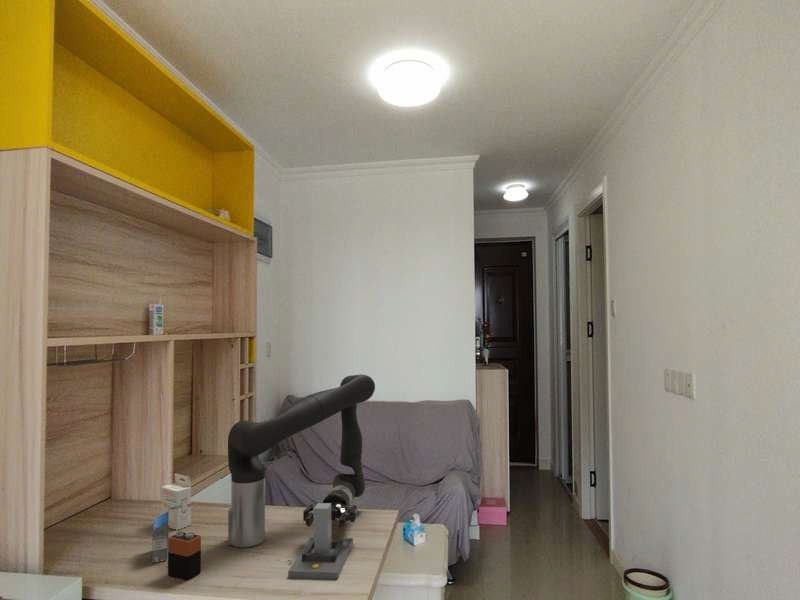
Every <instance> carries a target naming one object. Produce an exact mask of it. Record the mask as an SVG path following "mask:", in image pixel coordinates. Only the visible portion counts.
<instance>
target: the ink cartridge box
mask: <svg viewBox="0 0 800 600" xmlns="http://www.w3.org/2000/svg"><path fill="white" fill-rule="evenodd" d="M181 479H183V480H181ZM169 502H170V505H169ZM160 503H161V509H160V510H161V511H160V514H161V515H163V514H164V513H166V512H168V509H169V527H171V528H174V529H177V530H176V531H179V530H178V529H180V530H182V529H185V528H187V526H188V527H190V526H191V524H192V522H191V518H192V514H191V513H192V511H191V510H192V485H191V476H187V475H182V474H179V473H174V482H173V483H169V484H167V485H162V486H161V502H160ZM161 515H160V516H161ZM189 525H190V526H189ZM184 527H185V528H184ZM171 528H170V529H171ZM181 528H182V529H181ZM174 529H173V530H174Z"/></svg>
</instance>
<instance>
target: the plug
mask: <svg viewBox="0 0 800 600" xmlns="http://www.w3.org/2000/svg"><path fill="white" fill-rule="evenodd" d="M314 507H315V508H314V521H313V537H314V553H322V554H330V552H331V550H332V538H333V537H332V520H331V503H322V502H318V503H317V504H316V505H315V506H314Z"/></svg>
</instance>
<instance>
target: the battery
mask: <svg viewBox="0 0 800 600" xmlns="http://www.w3.org/2000/svg"><path fill="white" fill-rule="evenodd" d="M201 561H202V536H201V535H199V534H195V532H194V531H188V532H184V531H182V530H177V531H176V532H175V534H173V535H172V536H169V538H168V560H167V576H169V575H170V576H169V577H172V576H173V577H172V578H176V577H177V579H180V578H181V579H182V580H184V579H185V580H184V581H189V580H191V579H193V578H194V577H196V576H198V575H199V574H200V573H201V571H202V569H201V565H202V564H201V563H202V562H201ZM192 577H193V578H192Z"/></svg>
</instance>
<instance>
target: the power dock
mask: <svg viewBox="0 0 800 600" xmlns="http://www.w3.org/2000/svg"><path fill="white" fill-rule="evenodd" d="M331 538H332V550H331V552H330V554H322V553H314V536H310V537H309V538H308V540H307V542H306V543H305V545H304V547H303V548H302V549H301V551H300V553H299V554H298V555H297V557H296V559H295V561H294V562H293V563H292V565H291V566H290V568H289V570H288V573H287V575H288V576H287V577H288V578H289V579H316V580H317V579H319V580H338V579H339V578H340V574H341V572H342V570H343V569H344V565H345V564H346V561H347V559H348V556H349V554H350V552H351V549H352V547H353V545H354V537H331Z"/></svg>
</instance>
